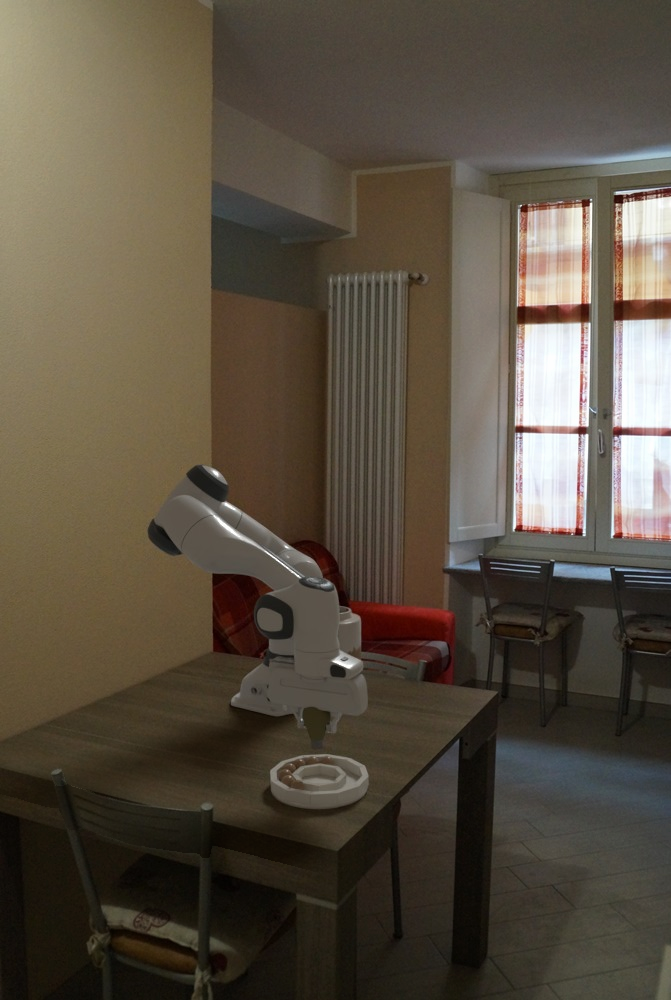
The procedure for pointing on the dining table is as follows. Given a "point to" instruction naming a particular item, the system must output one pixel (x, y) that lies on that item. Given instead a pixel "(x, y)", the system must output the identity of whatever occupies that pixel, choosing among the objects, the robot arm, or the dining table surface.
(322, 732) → the light bulb
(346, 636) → the vase
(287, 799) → the bead tray
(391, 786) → the dining table surface
